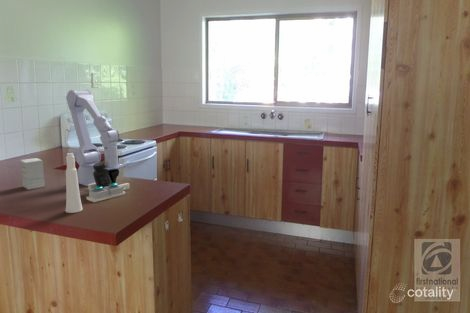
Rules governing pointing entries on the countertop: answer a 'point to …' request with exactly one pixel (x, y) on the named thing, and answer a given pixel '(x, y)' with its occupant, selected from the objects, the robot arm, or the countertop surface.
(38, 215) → the countertop surface
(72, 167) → the cosmetic bottle
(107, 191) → the white knob panel
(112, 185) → the plunger inner
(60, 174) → the countertop surface
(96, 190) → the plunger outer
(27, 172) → the supplement box
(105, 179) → the supplement bottle
